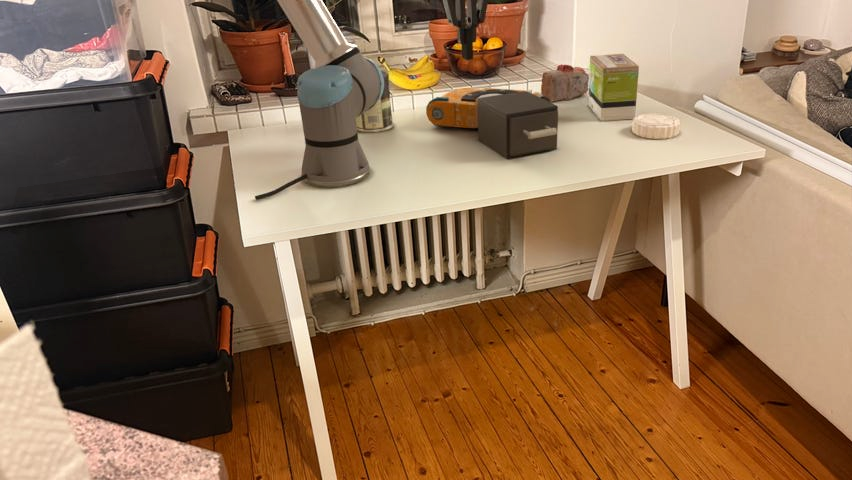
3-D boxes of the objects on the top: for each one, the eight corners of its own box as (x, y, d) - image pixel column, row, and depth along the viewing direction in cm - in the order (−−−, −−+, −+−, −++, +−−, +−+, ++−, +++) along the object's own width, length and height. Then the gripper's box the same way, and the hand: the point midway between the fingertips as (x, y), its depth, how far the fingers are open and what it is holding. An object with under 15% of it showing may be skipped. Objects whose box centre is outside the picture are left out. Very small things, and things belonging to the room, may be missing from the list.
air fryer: (556, 149, 172) (557, 105, 167) (506, 158, 167) (506, 114, 162) (525, 131, 184) (525, 90, 179) (478, 139, 179) (477, 98, 174)
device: (453, 77, 203) (553, 84, 194) (454, 106, 207) (553, 113, 198) (422, 98, 185) (531, 106, 175) (424, 128, 189) (531, 138, 179)
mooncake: (688, 134, 179) (690, 121, 177) (651, 142, 175) (652, 128, 173) (658, 122, 189) (660, 109, 187) (622, 129, 184) (623, 116, 182)
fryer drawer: (566, 152, 167) (567, 116, 162) (519, 161, 162) (520, 124, 158) (527, 130, 182) (528, 97, 177) (484, 138, 177) (483, 103, 173)
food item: (573, 91, 218) (575, 59, 213) (590, 96, 212) (592, 63, 207) (538, 98, 212) (538, 65, 207) (554, 104, 206) (555, 70, 201)
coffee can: (382, 118, 197) (377, 68, 190) (399, 127, 190) (395, 75, 183) (348, 125, 192) (342, 73, 185) (365, 135, 185) (359, 81, 178)
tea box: (586, 106, 204) (589, 54, 196) (620, 104, 204) (624, 52, 197) (600, 121, 191) (603, 66, 183) (636, 119, 191) (640, 64, 184)
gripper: (441, -59, 135) (446, 65, 147) (501, -62, 140) (501, 58, 152) (427, -61, 141) (433, 58, 153) (485, -64, 146) (486, 52, 158)
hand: (467, 58), depth 152 cm, fingers closed
